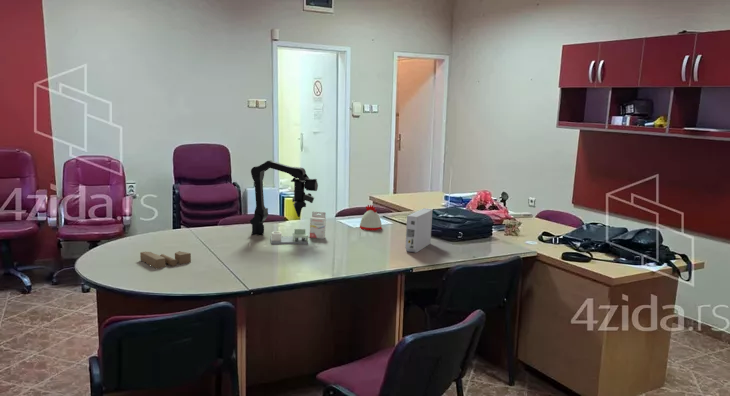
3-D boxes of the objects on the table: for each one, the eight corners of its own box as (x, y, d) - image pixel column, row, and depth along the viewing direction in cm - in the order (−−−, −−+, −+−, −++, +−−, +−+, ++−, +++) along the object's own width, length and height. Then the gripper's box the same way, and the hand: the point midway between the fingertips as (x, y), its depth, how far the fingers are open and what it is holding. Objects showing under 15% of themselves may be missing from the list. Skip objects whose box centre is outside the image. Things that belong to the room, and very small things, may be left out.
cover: (293, 241, 299) (293, 231, 298) (292, 238, 306) (292, 229, 305) (308, 241, 300) (308, 231, 300) (306, 238, 307) (307, 229, 306)
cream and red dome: (368, 224, 357) (369, 202, 355) (385, 228, 349) (386, 205, 347) (355, 228, 346) (356, 204, 344) (373, 231, 338) (374, 207, 336)
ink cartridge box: (309, 237, 315) (309, 212, 312) (311, 235, 319) (311, 211, 317) (324, 238, 314) (324, 213, 311) (325, 236, 319) (326, 212, 316)
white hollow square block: (272, 240, 300) (272, 233, 299) (271, 238, 305) (271, 231, 304) (281, 240, 301) (281, 233, 300) (280, 238, 306) (281, 231, 305)
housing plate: (271, 244, 296) (271, 237, 296) (270, 238, 310) (270, 231, 309) (308, 243, 301) (308, 236, 300) (305, 237, 314) (305, 231, 314)
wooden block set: (156, 258, 243) (139, 249, 256) (156, 270, 244) (139, 261, 256) (191, 251, 255) (173, 244, 268) (192, 263, 256) (173, 255, 268)
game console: (431, 243, 313) (433, 209, 310) (415, 253, 288) (417, 216, 285) (421, 242, 315) (423, 208, 312) (405, 252, 291) (407, 215, 287)
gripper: (315, 192, 304) (314, 219, 306) (311, 187, 322) (310, 213, 324) (295, 192, 301) (294, 220, 304) (292, 187, 319) (292, 213, 322)
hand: (298, 216), depth 313 cm, fingers closed
